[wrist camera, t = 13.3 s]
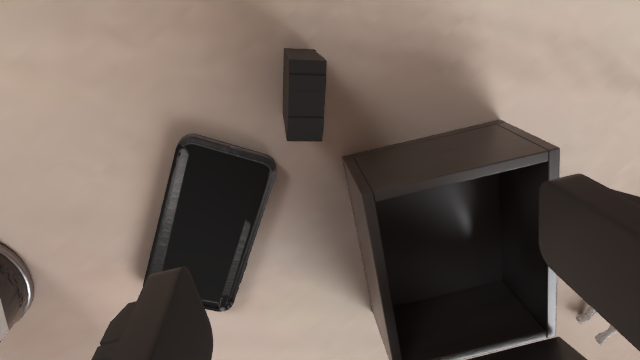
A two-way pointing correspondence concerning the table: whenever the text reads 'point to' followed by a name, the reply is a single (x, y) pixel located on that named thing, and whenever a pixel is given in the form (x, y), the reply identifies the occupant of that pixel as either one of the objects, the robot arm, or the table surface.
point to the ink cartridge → (303, 94)
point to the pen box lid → (537, 352)
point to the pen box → (455, 241)
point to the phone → (211, 215)
